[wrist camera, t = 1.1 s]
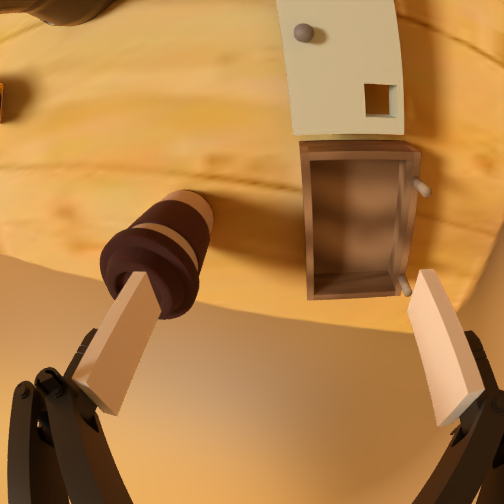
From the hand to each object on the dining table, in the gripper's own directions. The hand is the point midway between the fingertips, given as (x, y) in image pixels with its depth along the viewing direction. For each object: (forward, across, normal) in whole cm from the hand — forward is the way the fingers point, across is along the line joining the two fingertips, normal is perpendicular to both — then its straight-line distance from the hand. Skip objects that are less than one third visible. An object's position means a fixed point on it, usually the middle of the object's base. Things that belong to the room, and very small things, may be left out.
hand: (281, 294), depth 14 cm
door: (+18, +5, +13) cm, 23 cm away
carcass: (+22, +8, -7) cm, 24 cm away
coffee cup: (+22, -13, -7) cm, 26 cm away
